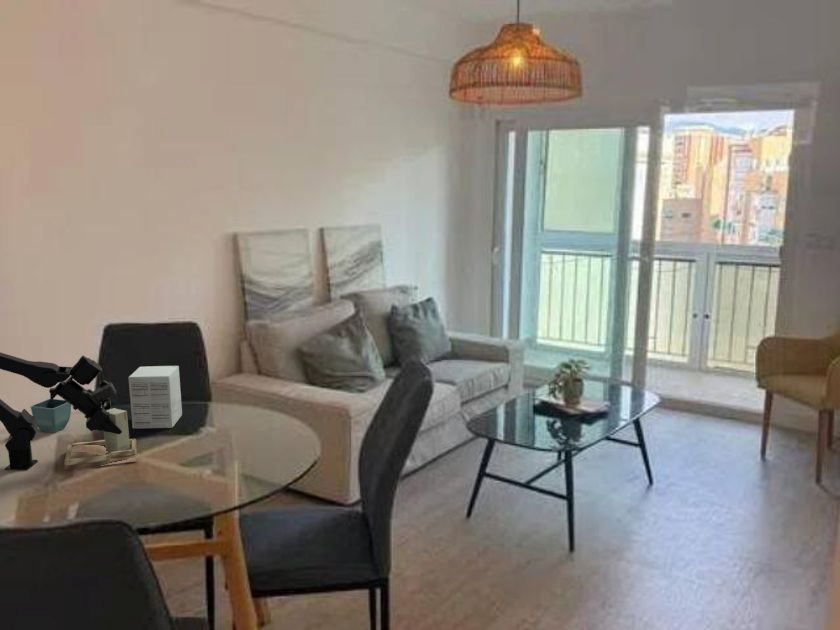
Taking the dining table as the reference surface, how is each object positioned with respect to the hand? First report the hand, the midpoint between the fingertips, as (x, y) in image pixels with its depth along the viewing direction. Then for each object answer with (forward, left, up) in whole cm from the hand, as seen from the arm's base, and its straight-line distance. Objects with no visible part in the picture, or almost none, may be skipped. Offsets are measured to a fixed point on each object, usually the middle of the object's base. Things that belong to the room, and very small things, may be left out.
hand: (121, 428), depth 231 cm
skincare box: (0, +1, -7) cm, 7 cm away
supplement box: (+29, 0, -8) cm, 30 cm away
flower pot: (+21, +31, -8) cm, 38 cm away
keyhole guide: (-2, +5, -8) cm, 10 cm away
